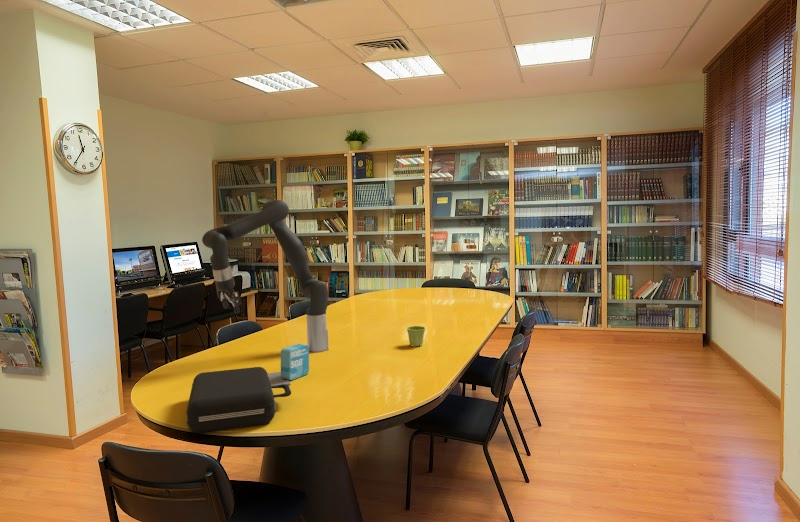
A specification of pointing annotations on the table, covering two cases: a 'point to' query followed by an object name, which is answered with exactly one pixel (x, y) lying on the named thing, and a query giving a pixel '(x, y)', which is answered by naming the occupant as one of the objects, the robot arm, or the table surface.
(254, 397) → the briefcase
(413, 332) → the plant pot
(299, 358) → the data package
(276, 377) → the mat
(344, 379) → the table surface
